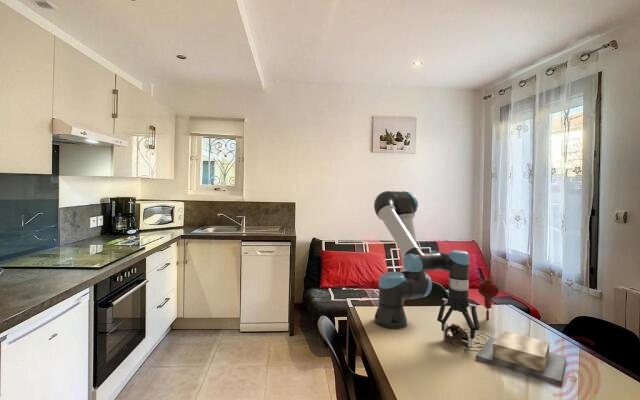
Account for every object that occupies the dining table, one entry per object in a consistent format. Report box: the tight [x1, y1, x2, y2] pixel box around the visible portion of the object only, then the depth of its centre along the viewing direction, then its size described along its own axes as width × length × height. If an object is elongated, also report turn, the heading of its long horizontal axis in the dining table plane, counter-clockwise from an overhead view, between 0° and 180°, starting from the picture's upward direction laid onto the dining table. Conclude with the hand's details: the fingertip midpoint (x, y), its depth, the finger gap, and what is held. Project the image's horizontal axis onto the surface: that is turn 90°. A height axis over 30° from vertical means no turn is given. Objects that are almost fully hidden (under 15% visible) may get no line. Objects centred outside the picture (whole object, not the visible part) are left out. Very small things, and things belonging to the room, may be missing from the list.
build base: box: [475, 330, 567, 386], centre depth 126 cm, size 26×22×6 cm
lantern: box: [477, 271, 500, 321], centre depth 167 cm, size 10×10×30 cm
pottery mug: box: [443, 323, 468, 344], centre depth 140 cm, size 12×10×8 cm
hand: (457, 342), depth 139 cm, fingers closed on pottery mug, 9 cm apart
